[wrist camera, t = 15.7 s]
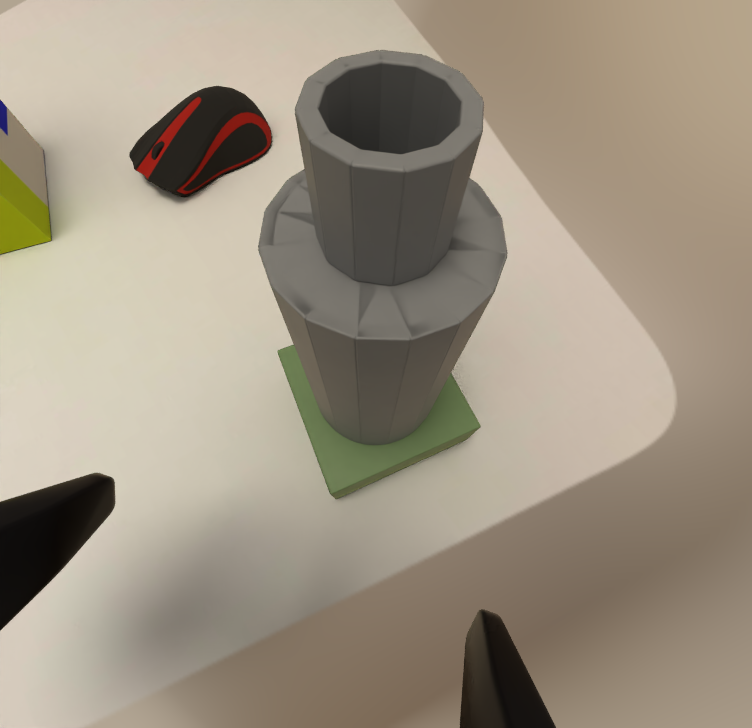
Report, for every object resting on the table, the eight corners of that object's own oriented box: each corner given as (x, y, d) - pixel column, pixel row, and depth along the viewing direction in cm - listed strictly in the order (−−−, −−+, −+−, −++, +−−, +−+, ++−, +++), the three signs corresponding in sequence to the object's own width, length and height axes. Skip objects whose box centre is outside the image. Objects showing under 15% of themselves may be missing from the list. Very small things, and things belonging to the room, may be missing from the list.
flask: (339, 464, 18) (265, 292, 5) (301, 356, 20) (181, 41, 7) (452, 419, 19) (642, 176, 6) (405, 321, 21) (465, -10, 8)
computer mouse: (127, 170, 29) (93, 118, 26) (238, 107, 33) (222, 54, 29) (175, 211, 28) (146, 163, 24) (286, 141, 31) (275, 89, 27)
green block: (335, 499, 20) (330, 495, 17) (287, 371, 23) (276, 350, 20) (466, 439, 21) (481, 426, 18) (405, 326, 24) (411, 300, 21)
